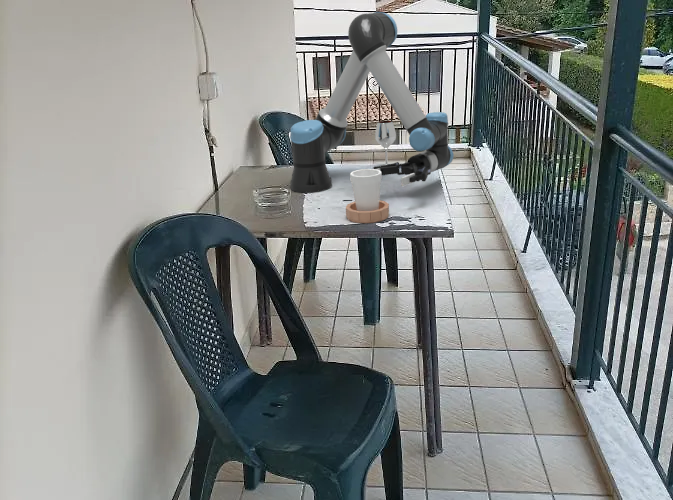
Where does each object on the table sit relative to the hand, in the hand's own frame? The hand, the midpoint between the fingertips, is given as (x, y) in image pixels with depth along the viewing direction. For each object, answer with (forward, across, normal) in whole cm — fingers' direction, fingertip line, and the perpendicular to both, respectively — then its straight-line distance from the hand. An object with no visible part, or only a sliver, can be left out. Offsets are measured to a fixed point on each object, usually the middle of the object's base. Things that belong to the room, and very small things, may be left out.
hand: (384, 179), depth 200 cm
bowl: (+9, 0, -9) cm, 13 cm away
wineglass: (-43, +31, -10) cm, 54 cm away
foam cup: (+9, 0, -9) cm, 13 cm away
